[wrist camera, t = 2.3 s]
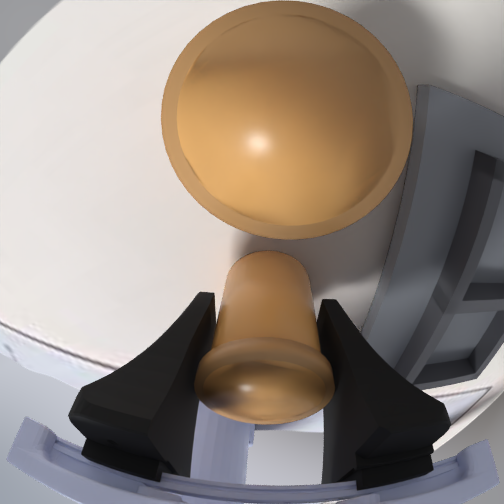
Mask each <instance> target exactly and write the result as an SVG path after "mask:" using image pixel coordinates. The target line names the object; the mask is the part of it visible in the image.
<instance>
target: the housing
mask: <svg viewBox="0 0 504 504" xmlns="http://www.w3.org/2000/svg"><path fill="white" fill-rule="evenodd" d="M361 334H362V336H363V337H364V338H365V340H366V341H367V342H368V343H369V344H370V345H371V347H372V348H373V349H374V350H375V351H376V352H377V353H378V354H379V355H380V356H381V357H382V358H383V359H384V360H385V361H386V362H387V363H388V364H389V365H390V366H391V367H392V368H393V369H394V370H395V371H396V372H398V373H399V374H400V375H401V376H402V377H404V378H405V379H406V380H407V381H409V382H410V383H411V384H413V385H414V386H416V387H417V388H419V389H420V390H425V389H431V388H436V387H442V386H447V385H452V384H456V383H461V382H465V381H469V380H473V379H477V378H478V377H479V375H480V374H481V373H482V371H483V370H484V369H485V368H486V366H487V365H488V364H489V362H490V361H491V360H492V358H493V357H494V355H495V354H496V353H497V351H498V350H499V348H500V347H501V345H502V344H503V342H504V117H503V116H502V115H500V114H498V113H496V112H494V111H492V110H490V109H487V108H485V107H483V106H481V105H479V104H477V103H474V102H472V101H470V100H468V99H465V98H463V97H460V96H458V95H455V94H453V93H450V92H448V91H445V90H442V89H440V88H437V87H434V86H431V85H418V90H417V103H416V113H415V122H414V130H413V138H412V145H411V152H410V158H409V164H408V169H407V175H406V180H405V185H404V190H403V195H402V200H401V204H400V209H399V213H398V217H397V221H396V225H395V229H394V233H393V237H392V241H391V244H390V248H389V251H388V255H387V258H386V262H385V265H384V268H383V272H382V275H381V278H380V281H379V284H378V287H377V290H376V293H375V296H374V299H373V302H372V305H371V308H370V310H369V313H368V316H367V319H366V321H365V324H364V327H363V329H362V332H361Z"/></svg>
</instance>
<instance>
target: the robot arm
mask: <svg viewBox="0 0 504 504" xmlns="http://www.w3.org/2000/svg"><path fill="white" fill-rule="evenodd" d="M215 328H216V312H215V295H214V293H209V292H199V293H198V294H197V295H196V297H195V298H194V299H193V301H192V302H191V303H190V305H189V306H188V307H187V308H186V309H185V311H184V312H183V313H182V314H181V315H180V316H179V318H178V319H177V320H176V321H175V322H174V323H173V324H172V325H171V326H170V328H169V329H168V330H167V331H166V332H165V333H164V334H163V335H162V336H161V337H160V338H159V339H157V340H156V341H155V342H154V343H153V344H152V345H151V346H150V347H148V348H147V349H146V350H145V351H144V352H142V353H141V354H140V355H138V356H137V357H136V358H134V359H133V360H131V361H130V362H129V363H127V364H126V365H124V366H122V367H121V368H119V369H117V370H116V371H114V372H112V373H111V374H109V375H107V376H105V377H103V378H101V379H99V380H97V381H95V382H93V383H90V384H88V385H86V386H83V387H82V388H81V390H80V392H79V393H78V395H77V397H76V399H75V401H74V404H73V406H72V408H71V410H70V412H69V415H68V416H69V419H70V421H71V423H72V424H73V425H74V426H75V427H76V428H77V429H78V430H79V431H80V432H81V433H82V434H83V435H84V436H85V437H86V438H87V439H86V441H85V444H84V447H80V446H78V445H76V444H73V443H71V442H68V441H66V440H64V439H62V438H60V437H57V436H56V434H55V433H54V432H53V431H52V430H50V429H49V428H48V427H46V426H44V425H43V424H41V423H39V422H37V421H35V420H33V419H31V418H29V417H27V416H26V417H25V418H24V420H23V423H22V425H21V427H20V429H19V431H18V433H17V435H16V438H15V440H14V442H13V445H12V447H11V449H10V451H9V454H8V456H7V461H8V462H9V463H11V464H12V465H13V466H15V467H16V468H18V469H19V470H21V471H22V472H24V473H25V474H27V475H28V476H30V477H32V478H33V479H35V480H36V481H38V482H40V483H42V484H43V485H45V486H47V487H48V488H50V489H52V490H54V491H56V492H57V493H59V494H61V495H63V496H65V497H67V498H69V499H71V500H73V501H75V502H77V503H79V504H244V503H257V504H302V503H318V502H329V501H338V500H343V501H338V502H337V503H336V504H463V503H465V502H467V501H469V500H471V499H473V498H475V497H477V496H479V495H481V494H482V493H484V492H486V491H488V490H490V489H491V488H493V487H495V486H497V485H498V484H499V483H500V482H499V477H498V474H497V469H496V466H495V462H494V458H493V455H492V452H491V449H490V445H489V442H488V440H487V439H485V440H483V441H480V442H478V443H475V444H473V445H471V446H468V447H467V448H465V449H464V450H462V451H461V452H459V453H458V454H457V455H456V456H453V457H450V458H448V459H444V460H442V461H438V462H435V463H432V459H431V455H430V454H432V453H433V452H434V449H433V445H432V444H433V443H435V442H436V441H437V440H438V439H439V438H440V437H442V436H443V435H444V434H445V433H446V432H447V431H448V429H449V428H450V426H451V422H450V419H449V416H448V413H447V410H446V407H445V405H444V403H442V402H440V401H438V400H437V399H435V398H433V397H431V396H430V395H428V394H426V393H425V392H423V391H422V390H420V389H419V388H417V387H416V386H414V385H413V384H411V383H410V382H409V381H407V380H406V379H405V378H404V377H402V376H401V375H400V374H399V373H398V372H396V371H395V370H394V369H393V368H392V367H391V366H390V365H389V364H388V363H387V362H386V361H385V360H384V359H383V358H382V357H381V356H380V355H379V354H378V353H377V352H376V351H375V350H374V349H373V348H372V347H371V345H370V344H369V343H368V342H367V341H366V340H365V338H364V337H363V336H362V334H361V333H360V332H359V331H358V329H357V328H356V327H355V325H354V324H353V323H352V321H351V320H350V318H349V317H348V316H347V314H346V313H345V311H344V310H343V308H342V307H341V305H340V304H339V303H338V301H337V300H335V299H322V302H321V307H320V311H319V315H318V319H317V329H318V336H319V342H320V349H321V353H322V354H323V355H324V356H325V357H326V358H327V360H328V361H329V362H330V364H331V367H332V371H333V378H334V384H335V392H334V395H333V397H332V399H331V400H330V402H329V403H328V404H327V405H326V406H325V407H324V408H323V414H324V453H323V471H322V483H321V484H318V485H299V486H298V485H295V486H267V485H246V484H245V481H246V470H247V458H248V447H251V446H252V445H253V439H254V430H255V424H251V423H245V422H240V421H236V420H232V419H229V418H226V417H224V416H221V415H219V414H217V413H215V412H214V411H212V410H210V409H209V408H208V407H206V406H205V405H204V404H203V403H202V402H201V401H200V400H199V398H198V397H197V395H196V393H195V390H194V382H195V377H196V373H197V369H198V365H199V363H200V361H201V359H202V358H203V357H204V356H205V355H206V354H207V353H208V352H209V351H211V347H212V342H213V338H214V333H215ZM346 499H347V500H346Z"/></svg>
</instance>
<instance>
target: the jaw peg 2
mask: <svg viewBox="0 0 504 504" xmlns="http://www.w3.org/2000/svg"><path fill="white" fill-rule="evenodd" d="M194 390H195V393H196V395H197V397H198V398H199V400H200V401H201V402H202V403H203V404H204V405H205V406H206V407H208V408H209V409H210V410H212V411H214V412H215V413H217V414H219V415H221V416H224V417H226V418H229V419H232V420H236V421H240V422H245V423H251V424H282V423H288V422H293V421H297V420H300V419H303V418H306V417H308V416H311V415H313V414H315V413H317V412H318V411H320V410H321V409H323V408H324V407H325V406H326V405H327V404H328V403H329V402H330V400H331V399H332V397H333V395H334V392H335V384H334V378H333V371H332V367H331V364H330V362H329V361H328V360H327V358H326V357H325V356H324V355H323V354H322V353H321V349H320V342H319V336H318V329H317V323H316V316H315V310H314V304H313V298H312V292H311V286H310V281H309V276H308V274H307V271H306V270H305V268H304V267H303V266H302V264H301V263H300V262H298V261H297V260H296V259H295V258H293V257H291V256H289V255H287V254H284V253H281V252H277V251H258V252H254V253H251V254H248V255H246V256H244V257H242V258H241V259H239V260H238V261H237V262H236V263H235V264H234V265H233V266H232V267H231V269H230V271H229V273H228V275H227V279H226V284H225V288H224V292H223V297H222V301H221V306H220V310H219V315H218V319H217V324H216V328H215V333H214V338H213V342H212V347H211V351H209V352H208V353H207V354H206V355H205V356H204V357H203V358H202V359H201V361H200V363H199V365H198V369H197V373H196V377H195V382H194Z"/></svg>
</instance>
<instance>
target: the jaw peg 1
mask: <svg viewBox="0 0 504 504" xmlns="http://www.w3.org/2000/svg"><path fill="white" fill-rule="evenodd" d="M161 125H162V135H163V140H164V144H165V148H166V152H167V154H168V157H169V160H170V162H171V165H172V167H173V169H174V171H175V172H176V174H177V176H178V178H179V180H180V181H181V182H182V184H183V185H184V187H185V188H186V189H187V191H188V192H189V193H190V194H191V195H192V196H193V198H194V199H195V200H196V201H197V202H198V203H199V204H200V205H201V206H203V207H204V208H205V209H206V210H207V211H209V212H210V213H211V214H213V215H214V216H216V217H217V218H219V219H220V220H222V221H223V222H225V223H227V224H229V225H231V226H233V227H235V228H237V229H239V230H242V231H245V232H248V233H250V234H254V235H258V236H262V237H267V238H274V239H306V238H314V237H318V236H323V235H327V234H330V233H333V232H335V231H338V230H341V229H343V228H345V227H347V226H349V225H351V224H353V223H355V222H356V221H358V220H360V219H361V218H363V217H364V216H366V215H367V214H368V213H369V212H371V211H372V210H373V209H374V208H375V207H376V206H378V205H379V204H380V202H381V201H382V200H383V199H384V198H385V197H386V196H387V195H388V194H389V192H390V191H391V189H392V188H393V186H394V185H395V183H396V182H397V180H398V178H399V176H400V174H401V173H402V171H403V169H404V166H405V163H406V160H407V158H408V155H409V151H410V146H411V141H412V131H413V115H412V106H411V101H410V96H409V92H408V89H407V86H406V83H405V80H404V77H403V75H402V73H401V71H400V70H399V68H398V66H397V64H396V62H395V61H394V59H393V58H392V56H391V55H390V53H389V52H388V51H387V49H386V48H385V47H384V46H383V45H382V44H381V43H380V41H379V40H378V39H377V38H376V37H375V36H374V35H372V34H371V33H370V32H369V31H368V30H367V29H365V28H364V27H363V26H362V25H360V24H358V23H357V22H355V21H354V20H352V19H351V18H349V17H347V16H345V15H343V14H341V13H339V12H337V11H334V10H332V9H329V8H326V7H323V6H320V5H316V4H312V3H306V2H300V1H269V2H260V3H256V4H252V5H248V6H244V7H242V8H239V9H237V10H234V11H232V12H229V13H227V14H225V15H223V16H222V17H220V18H218V19H216V20H215V21H213V22H212V23H210V24H209V25H208V26H206V27H205V28H204V29H203V30H201V31H200V32H199V33H198V34H197V35H196V36H195V37H194V38H193V39H192V40H191V41H190V42H189V43H188V44H187V46H186V47H185V48H184V50H183V51H182V53H181V54H180V55H179V57H178V58H177V60H176V62H175V64H174V66H173V68H172V70H171V72H170V74H169V77H168V80H167V83H166V86H165V90H164V95H163V100H162V110H161Z"/></svg>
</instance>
